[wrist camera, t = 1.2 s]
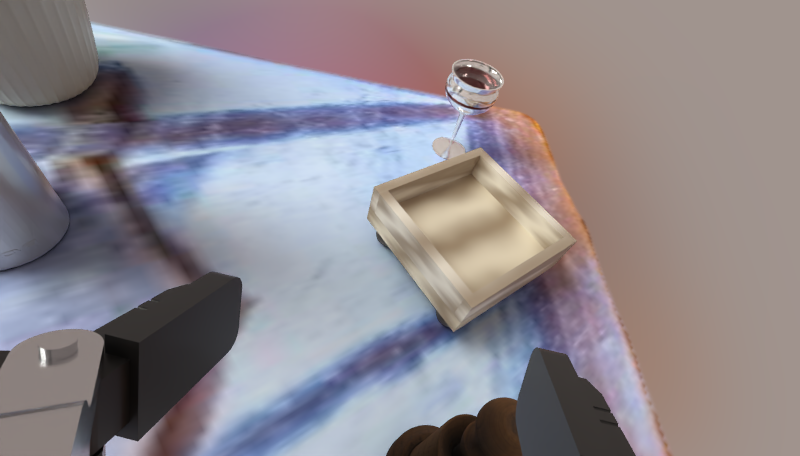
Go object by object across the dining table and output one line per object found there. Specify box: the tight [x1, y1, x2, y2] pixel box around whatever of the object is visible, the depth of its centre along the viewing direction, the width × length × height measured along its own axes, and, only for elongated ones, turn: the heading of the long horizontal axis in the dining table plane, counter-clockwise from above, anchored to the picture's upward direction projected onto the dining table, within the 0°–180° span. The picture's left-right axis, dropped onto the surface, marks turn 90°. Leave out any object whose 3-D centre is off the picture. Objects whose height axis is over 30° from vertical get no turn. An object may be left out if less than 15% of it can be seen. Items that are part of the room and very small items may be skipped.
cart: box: [367, 147, 577, 332], centre depth 43 cm, size 15×15×8 cm
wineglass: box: [432, 59, 504, 160], centre depth 53 cm, size 7×7×12 cm
